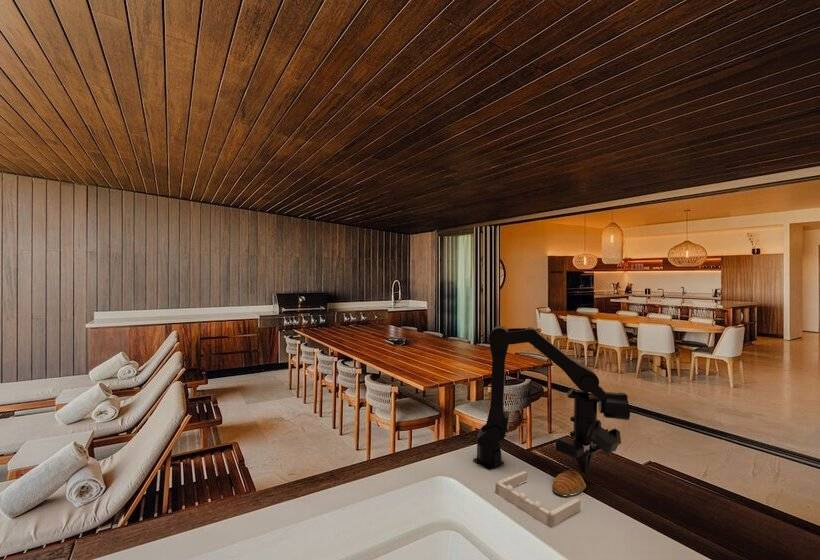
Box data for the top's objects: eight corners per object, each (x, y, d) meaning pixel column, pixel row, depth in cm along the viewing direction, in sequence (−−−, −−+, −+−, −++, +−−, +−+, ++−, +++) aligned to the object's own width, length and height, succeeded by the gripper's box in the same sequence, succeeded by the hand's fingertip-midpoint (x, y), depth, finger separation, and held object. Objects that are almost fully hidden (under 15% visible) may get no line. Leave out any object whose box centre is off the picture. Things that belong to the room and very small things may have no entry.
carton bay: (494, 492, 94) (494, 479, 94) (524, 480, 101) (524, 467, 101) (550, 528, 81) (550, 512, 81) (580, 510, 88) (580, 496, 88)
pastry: (570, 503, 91) (570, 487, 91) (544, 491, 96) (544, 476, 96) (587, 489, 97) (587, 474, 97) (562, 479, 102) (562, 465, 102)
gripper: (595, 432, 91) (593, 497, 91) (633, 417, 102) (631, 476, 101) (554, 417, 100) (553, 476, 100) (593, 406, 111) (591, 459, 111)
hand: (584, 472), depth 103 cm, fingers closed
